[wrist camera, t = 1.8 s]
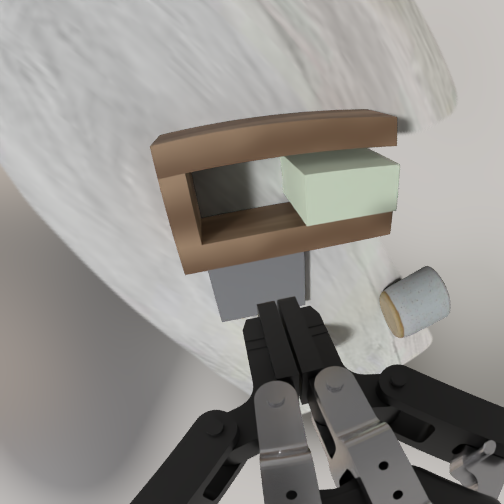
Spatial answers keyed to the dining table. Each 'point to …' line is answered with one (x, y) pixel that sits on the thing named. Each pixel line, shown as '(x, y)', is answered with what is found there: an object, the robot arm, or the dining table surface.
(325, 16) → the dining table surface
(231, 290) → the slate coaster
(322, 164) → the sage block
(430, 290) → the ceramic mug
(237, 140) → the rail
